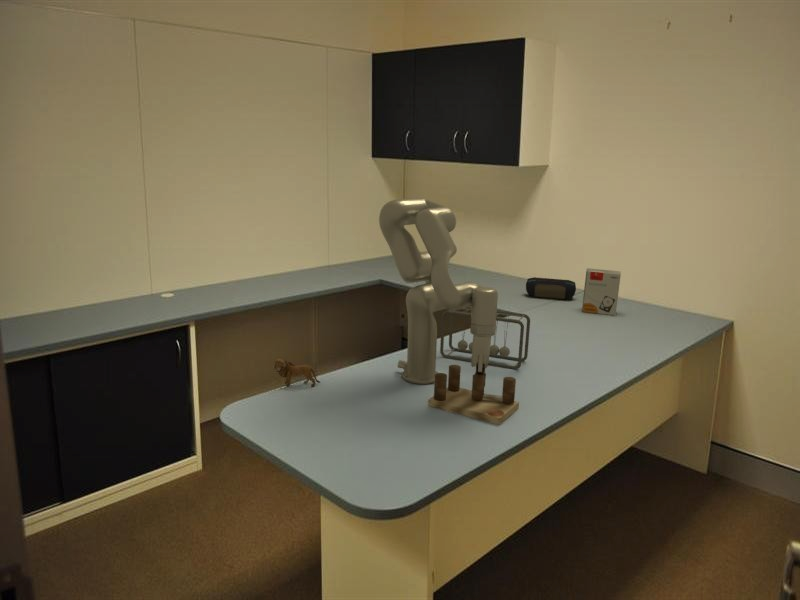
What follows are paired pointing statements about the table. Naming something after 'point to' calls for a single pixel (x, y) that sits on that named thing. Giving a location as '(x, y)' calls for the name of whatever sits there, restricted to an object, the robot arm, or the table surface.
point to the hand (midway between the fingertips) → (479, 385)
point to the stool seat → (467, 399)
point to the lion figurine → (293, 371)
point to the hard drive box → (601, 291)
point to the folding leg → (506, 396)
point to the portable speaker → (550, 288)
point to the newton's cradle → (495, 349)
